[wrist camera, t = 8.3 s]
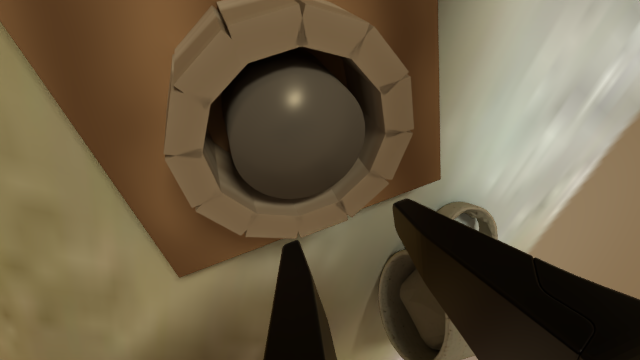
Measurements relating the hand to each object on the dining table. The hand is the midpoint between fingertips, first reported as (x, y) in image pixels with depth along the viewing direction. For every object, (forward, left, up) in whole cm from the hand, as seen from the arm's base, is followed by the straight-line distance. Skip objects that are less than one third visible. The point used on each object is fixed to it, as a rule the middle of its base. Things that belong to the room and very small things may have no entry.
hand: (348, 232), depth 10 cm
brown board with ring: (0, 0, -11) cm, 11 cm away
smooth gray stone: (0, 0, -9) cm, 9 cm away
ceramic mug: (-8, +17, -11) cm, 22 cm away
